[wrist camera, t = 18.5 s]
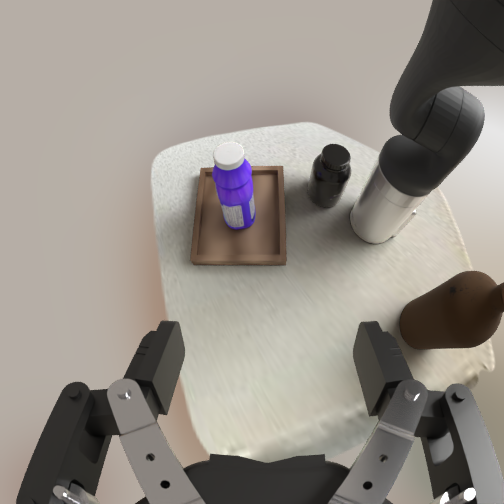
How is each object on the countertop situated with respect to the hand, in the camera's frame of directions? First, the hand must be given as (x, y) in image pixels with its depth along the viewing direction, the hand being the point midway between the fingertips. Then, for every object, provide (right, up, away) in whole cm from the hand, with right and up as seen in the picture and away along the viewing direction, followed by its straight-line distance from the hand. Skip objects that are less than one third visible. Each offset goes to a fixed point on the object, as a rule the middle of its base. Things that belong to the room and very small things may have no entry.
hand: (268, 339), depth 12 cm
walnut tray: (-3, +10, +41) cm, 42 cm away
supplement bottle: (+13, +15, +42) cm, 46 cm away
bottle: (-3, +11, +40) cm, 41 cm away
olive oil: (+30, -9, +32) cm, 45 cm away
